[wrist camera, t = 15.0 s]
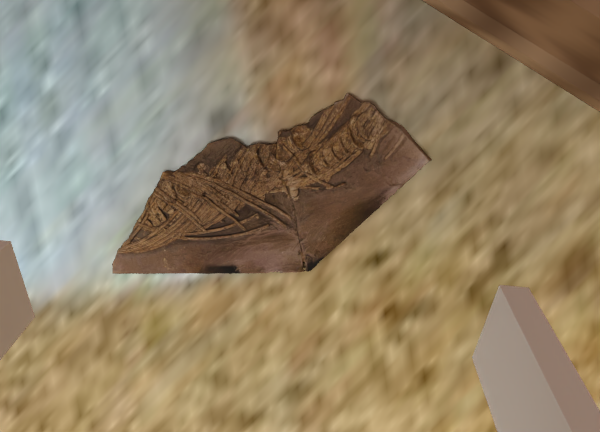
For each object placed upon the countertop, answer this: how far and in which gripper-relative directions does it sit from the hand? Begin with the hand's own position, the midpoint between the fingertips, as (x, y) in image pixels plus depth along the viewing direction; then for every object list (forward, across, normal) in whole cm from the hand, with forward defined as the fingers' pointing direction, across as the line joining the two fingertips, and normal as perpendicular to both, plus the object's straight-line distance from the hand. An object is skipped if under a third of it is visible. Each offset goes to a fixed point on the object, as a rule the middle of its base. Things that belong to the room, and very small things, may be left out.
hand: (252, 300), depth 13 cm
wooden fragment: (+19, -3, -8) cm, 21 cm away
